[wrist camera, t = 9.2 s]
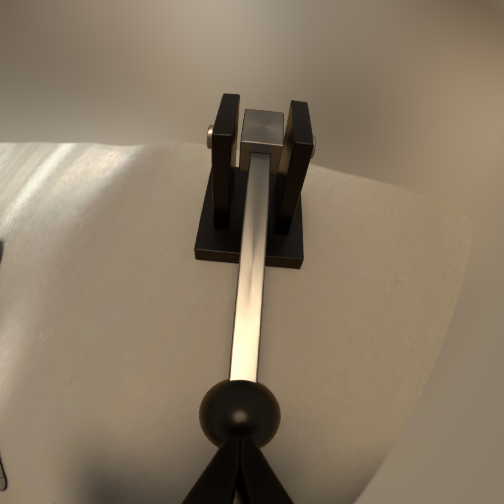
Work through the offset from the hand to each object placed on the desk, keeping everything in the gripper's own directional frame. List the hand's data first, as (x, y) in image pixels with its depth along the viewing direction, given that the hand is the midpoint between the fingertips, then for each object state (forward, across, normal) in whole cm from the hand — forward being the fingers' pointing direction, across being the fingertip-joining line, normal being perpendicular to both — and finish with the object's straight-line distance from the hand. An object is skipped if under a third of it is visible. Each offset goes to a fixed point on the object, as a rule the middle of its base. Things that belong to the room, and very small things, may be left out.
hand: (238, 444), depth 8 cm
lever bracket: (+16, 0, -6) cm, 16 cm away
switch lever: (+8, 0, -4) cm, 9 cm away
